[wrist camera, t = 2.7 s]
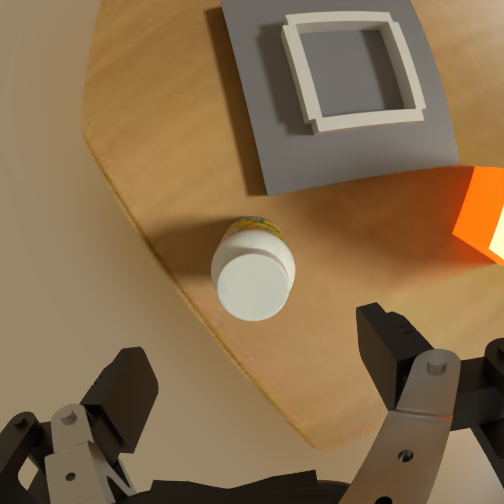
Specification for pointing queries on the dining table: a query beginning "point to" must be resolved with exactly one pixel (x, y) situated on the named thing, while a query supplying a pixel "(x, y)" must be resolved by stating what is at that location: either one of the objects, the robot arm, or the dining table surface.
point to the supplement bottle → (253, 269)
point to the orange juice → (484, 213)
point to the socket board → (338, 90)
